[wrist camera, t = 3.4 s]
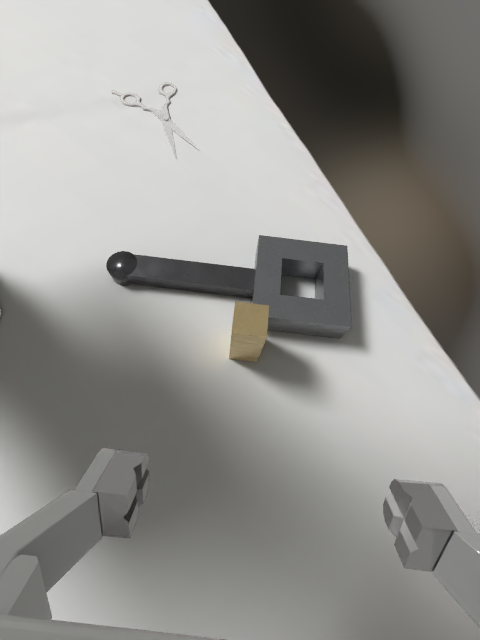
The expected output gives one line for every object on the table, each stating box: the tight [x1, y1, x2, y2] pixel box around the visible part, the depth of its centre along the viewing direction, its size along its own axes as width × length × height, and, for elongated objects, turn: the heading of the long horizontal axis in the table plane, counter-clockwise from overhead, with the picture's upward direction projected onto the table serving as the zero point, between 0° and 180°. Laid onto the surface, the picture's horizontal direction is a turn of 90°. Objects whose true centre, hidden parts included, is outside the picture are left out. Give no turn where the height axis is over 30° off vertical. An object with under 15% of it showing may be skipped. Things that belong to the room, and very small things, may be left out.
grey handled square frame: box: [106, 235, 351, 338], centre depth 37 cm, size 11×29×4 cm, turn 84°
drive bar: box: [229, 301, 269, 362], centre depth 32 cm, size 3×3×8 cm
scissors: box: [112, 82, 199, 159], centre depth 51 cm, size 11×1×20 cm
